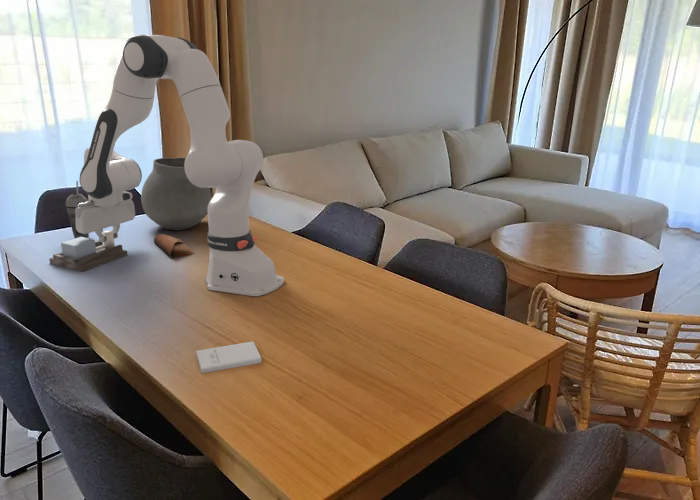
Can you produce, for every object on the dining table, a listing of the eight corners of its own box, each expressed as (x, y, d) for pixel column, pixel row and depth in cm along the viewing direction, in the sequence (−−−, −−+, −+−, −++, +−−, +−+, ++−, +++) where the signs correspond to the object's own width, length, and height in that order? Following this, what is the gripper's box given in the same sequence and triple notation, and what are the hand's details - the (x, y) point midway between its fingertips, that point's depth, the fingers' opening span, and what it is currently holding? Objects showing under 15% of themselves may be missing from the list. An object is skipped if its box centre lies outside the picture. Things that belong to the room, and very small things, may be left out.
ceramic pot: (175, 241, 193) (169, 169, 185) (130, 228, 206) (122, 160, 198) (226, 225, 213) (223, 159, 205) (182, 214, 225) (178, 152, 217)
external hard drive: (261, 365, 119) (201, 375, 115) (253, 346, 126) (196, 356, 122) (261, 358, 118) (201, 368, 114) (253, 340, 126) (195, 349, 121)
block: (120, 247, 181) (118, 232, 180) (76, 262, 168) (74, 246, 166) (107, 244, 184) (105, 229, 182) (63, 258, 170) (61, 242, 169)
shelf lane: (127, 255, 179) (126, 246, 178) (81, 271, 165) (80, 262, 164) (97, 247, 185) (95, 239, 184) (50, 263, 171) (48, 253, 170)
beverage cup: (78, 234, 199) (70, 178, 192) (97, 235, 198) (90, 179, 191) (65, 240, 192) (56, 182, 185) (85, 241, 191) (77, 183, 184)
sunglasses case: (197, 254, 182) (185, 238, 178) (179, 268, 180) (167, 252, 176) (178, 239, 196) (166, 224, 192) (161, 252, 193) (150, 237, 190)
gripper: (82, 206, 166) (88, 250, 170) (136, 192, 183) (140, 233, 188) (67, 203, 169) (73, 247, 173) (122, 190, 186) (126, 230, 190)
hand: (108, 239), depth 180 cm, fingers closed on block, 3 cm apart
